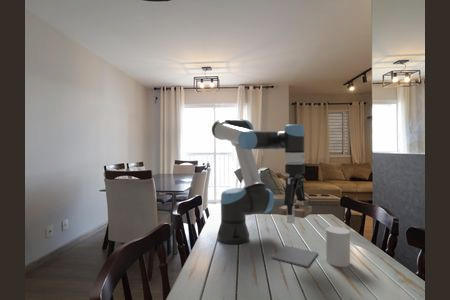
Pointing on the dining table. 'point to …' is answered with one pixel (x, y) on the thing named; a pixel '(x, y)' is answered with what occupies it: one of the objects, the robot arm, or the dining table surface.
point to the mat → (295, 256)
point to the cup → (338, 246)
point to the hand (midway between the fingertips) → (295, 219)
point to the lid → (297, 210)
